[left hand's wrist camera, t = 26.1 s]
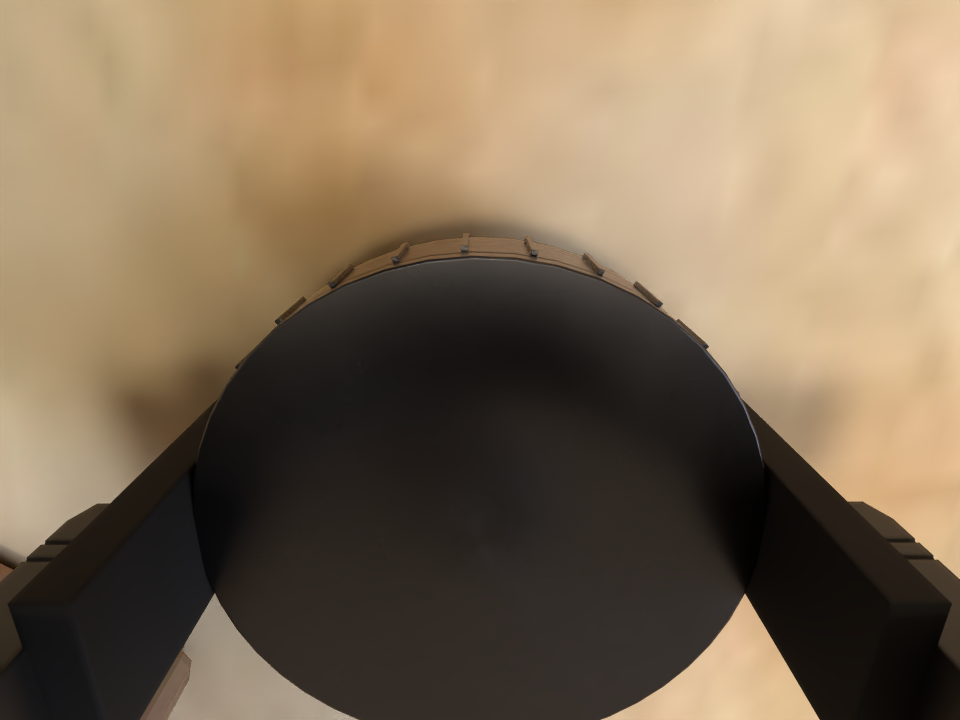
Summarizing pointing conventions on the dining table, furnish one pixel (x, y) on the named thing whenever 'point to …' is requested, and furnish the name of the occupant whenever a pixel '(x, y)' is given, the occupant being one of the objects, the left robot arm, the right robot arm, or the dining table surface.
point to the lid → (479, 488)
